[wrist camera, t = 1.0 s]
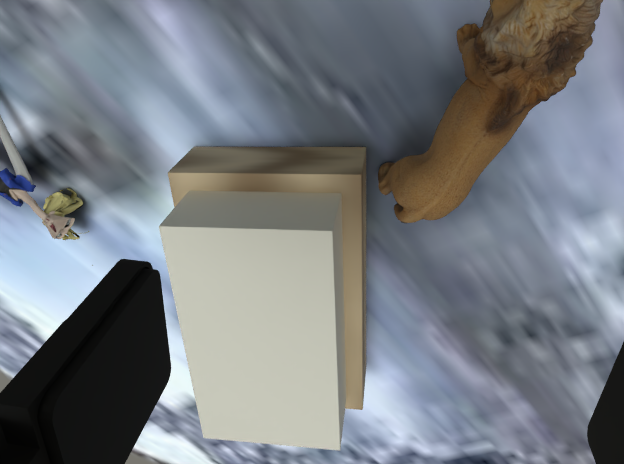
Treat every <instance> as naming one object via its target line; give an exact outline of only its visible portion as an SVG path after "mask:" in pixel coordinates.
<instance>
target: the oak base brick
mask: <svg viewBox="0 0 624 464" xmlns="http://www.w3.org/2000/svg"><path fill="white" fill-rule="evenodd" d="M168 176H169V181H170V186H171V192H172V197H173V202H174V207H176V206H177V204H178V203H179V202H180V201H181V200H182V199H183V197H184V196H185V195H186V194H187V193H188V192H189V191H245V192H307V193H341V195H342V235H343V276H344V316H345V357H346V405H345V408H346V409H359V410H363V398H364V386H365V374H366V147H193V148H192V149H191V150H190V151H189V152H188V153H187V154H186V155H185V156H184V157H183V158H182V159H181V160H180V161H179V162H178V163H177V164H176V165H175V166H174V167H173V168H172V169H171V170H170V171H169V172H168Z"/></svg>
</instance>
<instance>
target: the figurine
mask: <svg viewBox="0 0 624 464" xmlns="http://www.w3.org/2000/svg"><path fill="white" fill-rule="evenodd" d="M0 138H1V140H2V142H3V144H4V146H5V149H6V151H7V153H8V156H9V158H10V160H11V163H12V165H13V167H14V170H15V173H16V176H17V177H16V176H15V175H13V174H12V173H10V172H9V170H8V169H7V168H5V169H4V170H2V171H1V172H0V195H1V196H3V197H4V198H6V199H8V200H9V201H11V202H12V204H14V205H16V206H20V207H21V206H22V204H23V201H24V202H26V203H27V204H29V205H30V207H31V208H32V209H33V211H34V212H35V213H36V214H37V215H38V216H39V217H40V218H41V219H42V220H43V222H42V223H43V224H44V225H46V227H47V228H48V230H49V232H50V234H51V236H52V237H53V238H54V239H55V238H57V239H61V238H63V240H66V239H73V240H75V239H79V236H78V235H77V234H76V233H75V232H74V231H72V230H71V229H70V228H71V226H72V225H73V223H74V220H75V218H68V217H64V215H66V214H69V213H71V212H73V211H74V210H76V209H78V208H80V207H81V206H82V205H83V202H82V199H80V198H78V197H77V194H76V193H75V192H74V191H73V190H71V189H69V188H66V189H68V190H70V191H71V192H72V195H71V196H68V195H64V194H62V193H60V192H61V191H63V190H60V191H59V192H56V193H54V194H53V196H52V195H50V196H49V198H48V197H47V198H46V200H45V202H46V203H45V204H44V207H43V209H45V210H44V211H43V210H42V209H41V208H40V207H39V206H38V205H37V203H36V201H35V200H34V199H33V198H32V197H30V196H29V195H28V194H27V191H28V192H29V191H30V192H33V191H34V188H35V187H36V185H34V184H33V181H32V178H31V176H30V174H29V172H28V170H27V168H26V166H25V164H24V162H23V160H22V158H21V156H20V154H19V152H18V150H17V148H16V146H15V144H14V142H13V140H12V138H11V136H10V134H9V132H8V130H7V128H6V126H5V124H4V122H3V120H2V118H1V116H0ZM22 200H23V201H22ZM75 200H77V202H76V201H75ZM75 202H76V203H75ZM72 203H74V204H72ZM88 232H89V231H88ZM72 233H73V234H75V235H76V236H77V237H75V236H74V235H73V234H72ZM86 233H87V232H86ZM65 234H67V235H68V236H66V235H65ZM78 234H82V233H78ZM92 266H93V265H92Z"/></svg>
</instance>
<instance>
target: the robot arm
mask: <svg viewBox="0 0 624 464" xmlns="http://www.w3.org/2000/svg"><path fill="white" fill-rule="evenodd" d="M170 373H171V362H170V353H169V345H168V337H167V329H166V320H165V312H164V304H163V296H162V287H161V279H160V273H159V271H158V270H154V269H153V268H152V265H151V264H150V263H149V262H145V261H136V260H128V259H121V260H120V261H118V262H117V263H116V265H115V266H114V267H113V268H112V269H111V270H110V271H109V272H108V274H107V275H106V276H105V277H104V278H103V279H102V280H101V282H100V283H99V284H98V285H97V286H96V287H95V288H94V289H93V291H92V292H91V293H90V294H89V295H88V296H87V297H86V298H85V300H84V301H83V302H82V303H81V304H80V305H79V306H78V307H77V309H76V310H75V311H74V312H73V313H72V314H71V315H70V317H69V318H68V319H66V320H65V321H64V322H63V323H62V324H61V325H60V326H59V327H58V329H57V330H56V331H55V332H54V333H53V334H52V335H51V336H50V338H49V339H48V340H47V341H46V342H45V343H44V344H43V345H42V347H41V348H40V349H39V350H38V351H37V352H36V353H35V355H34V356H33V357H32V358H31V359H30V360H29V361H28V362H27V364H26V365H25V366H24V367H23V368H22V369H21V370H20V371H19V373H18V374H17V375H16V376H15V377H14V378H13V379H12V380H11V382H10V383H9V384H8V385H7V386H6V387H5V389H4V390H3V391H2V392H1V393H0V464H125V462H126V460H127V458H128V456H129V455H130V453H131V451H132V449H133V447H134V445H135V443H136V441H137V439H138V438H139V436H140V434H141V432H142V430H143V428H144V426H145V424H146V423H147V421H148V419H149V417H150V415H151V413H152V411H153V409H154V407H155V406H156V404H157V402H158V400H159V398H160V396H161V394H162V392H163V390H164V389H165V387H166V385H167V383H168V380H169V377H170ZM587 436H588V442H589V446H590V448H591V451H592V454H593V456H594V459H595V462H596V464H624V342H623V345H622V347H621V349H620V352H619V354H618V356H617V359H616V361H615V363H614V366H613V368H612V371H611V373H610V375H609V378H608V380H607V382H606V385H605V387H604V389H603V392H602V394H601V396H600V399H599V401H598V403H597V406H596V408H595V410H594V413H593V415H592V417H591V420H590V422H589V425H588V431H587Z"/></svg>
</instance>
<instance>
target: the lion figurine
mask: <svg viewBox="0 0 624 464" xmlns="http://www.w3.org/2000/svg"><path fill="white" fill-rule="evenodd" d="M602 2H603V0H490V5H491V6H490V8H489V10H488V11H487V13H486V16H485V18H484V21H483V26H482V27H481V28H478V26H477V24H475V23H474V24H466V25H464V26H463V27H462V28H460V29H458V31H457V42H458V47H459V51H460V52H461V53H462V59H463V62H464V68H465V76H466V77H467V80H466V81H465V82H464V83H463V84H462V85H461V87H460V88H459V89H458V91H457V92H456V93H455V95H454V96H453V98H452V100H451V102H450V104H449V105H448V107H447V109H446V111H445V113H444V116H443V118H442V119H441V121H440V123H439V125H438V127H437V129H436V132H435V135H434V138H433V141H432V144H431V146H430V148H429V149H428V151H427V152H426V153H424V154H421V155H411V156H407V157H405V158H403V159H401V160H399V161H397V162H396V163H389V162H387V163H385V164H383V165H381V167H380V169H379V172H378V180H379V190H380V191H381V193H382V194H384V195H387V194H389V193H390V192H391V191H392V192H393V195H394V198H395V200H396V201H397V202H398V203H397V204H396V205H395V206H394V210H395V214H396V217H397V218H398V220H400V221H401V222H402V223H412V222H416V221H418V220H421V219H425V220H436V219H440V218H442V217H444V216H446V215H447V214H449V213H450V212H451V211H453V210H454V209H455V208H457V207H458V206H459V205H460V204H461V203H462V201H463V200H464V199H465V198H466V197H467V195H468V193H469V192H470V190H471V188H472V186H473V184H474V182H475V181H476V179H477V178H478V176H479V175H480V174H481V172H482V171H483V170H484V169H485V168H486V166H487V165H488V164H489V163H490V162H491V161H492V160H493V159H494V157H495V156H496V155H497V154H498V153H499V152H500V150H501V149H502V148H503V147H504V146H505V145H506V144H507V142H508V141H509V140H510V139H511V137H512V136H513V135H514V133H515V132H516V130H517V129H518V127H519V126H520V125H521V123H522V122H523V120H524V119H525V117H526V115H527V114H528V112H529V111H530V110H531V109H532V108H533V107H534V106H536V105H537V104H539V103H540V102H541V101H547V100H548V99H549V98H550V97H551V96H552V95H555V94H556V93H557V92H559V91H561V90H562V89H564V88H565V87H566V84H567V82H568V80H569V78H570V77H573V76H575V75H576V70H575V67H576V65H577V63H578V62H579V61H580V60H582V59H583V58H584V52H585V50H586V49H587V48H588V47H589V46H591V44H592V42H593V39H592V37H591V34H592V33H593V31H594V30H595V23H594V22H595V20H596V19H598V17H599V14H600V4H601V3H602Z"/></svg>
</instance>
